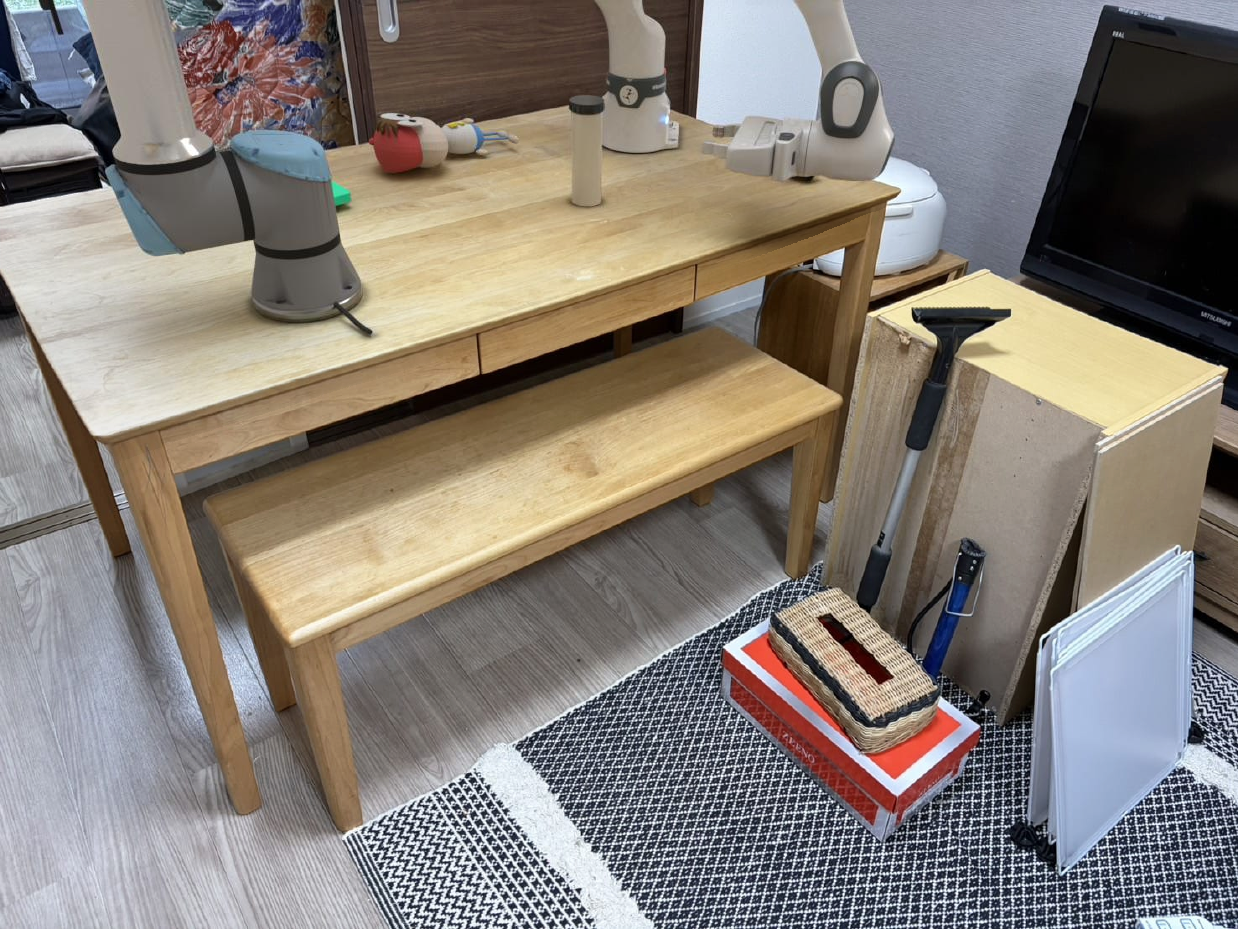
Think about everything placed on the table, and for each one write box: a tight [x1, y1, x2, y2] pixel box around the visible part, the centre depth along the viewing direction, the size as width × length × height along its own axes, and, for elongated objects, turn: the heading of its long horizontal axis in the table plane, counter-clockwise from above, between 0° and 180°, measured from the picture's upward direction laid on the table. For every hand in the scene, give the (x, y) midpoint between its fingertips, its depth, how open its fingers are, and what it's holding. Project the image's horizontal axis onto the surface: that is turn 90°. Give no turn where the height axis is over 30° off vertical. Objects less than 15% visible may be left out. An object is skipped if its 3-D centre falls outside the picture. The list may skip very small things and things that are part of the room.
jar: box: [570, 111, 603, 207], centre depth 163 cm, size 5×5×17 cm
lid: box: [568, 94, 605, 114], centre depth 158 cm, size 6×6×2 cm
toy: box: [368, 112, 520, 174], centre depth 181 cm, size 18×10×30 cm
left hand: (108, 29), depth 146 cm, fingers open, 13 cm apart
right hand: (708, 138), depth 156 cm, fingers open, 8 cm apart
